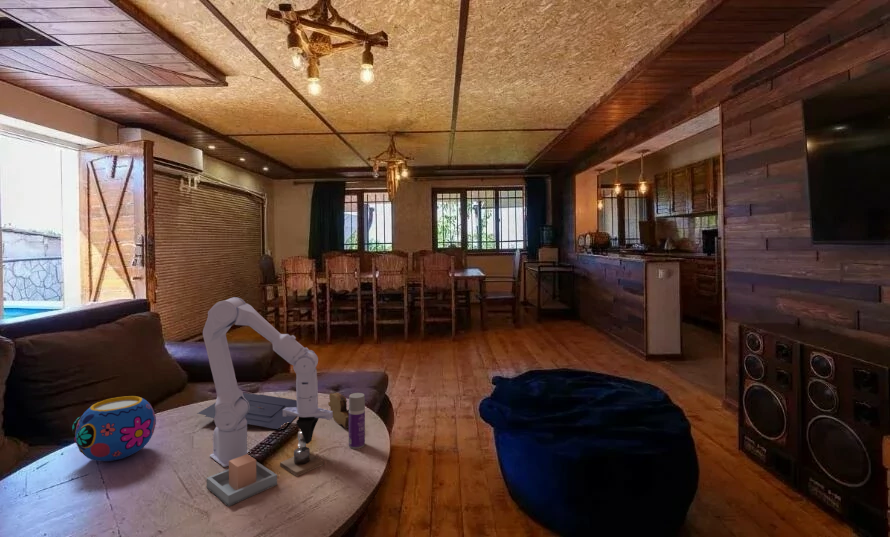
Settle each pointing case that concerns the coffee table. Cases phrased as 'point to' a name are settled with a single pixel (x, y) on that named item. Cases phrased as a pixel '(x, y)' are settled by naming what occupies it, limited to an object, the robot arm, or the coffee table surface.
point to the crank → (301, 451)
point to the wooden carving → (339, 409)
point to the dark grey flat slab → (262, 410)
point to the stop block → (242, 471)
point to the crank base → (301, 465)
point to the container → (356, 420)
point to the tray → (231, 496)
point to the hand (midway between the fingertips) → (308, 442)
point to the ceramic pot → (114, 428)
